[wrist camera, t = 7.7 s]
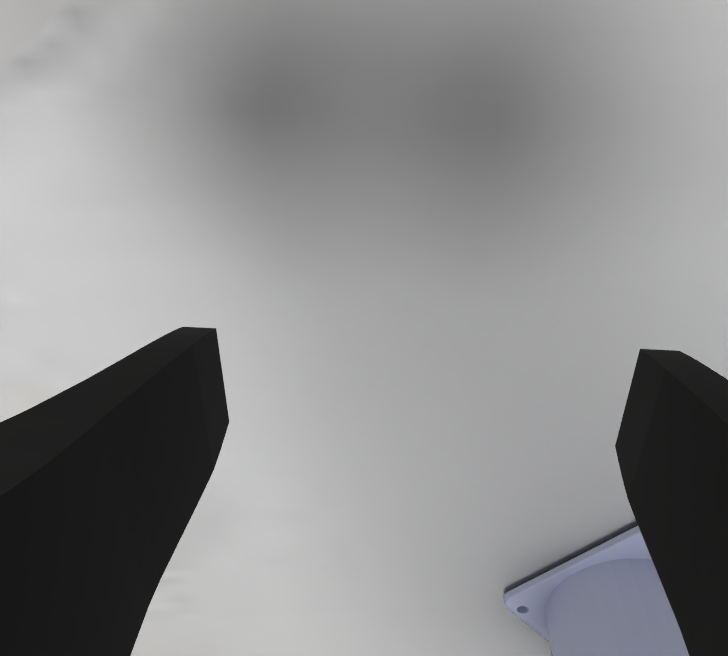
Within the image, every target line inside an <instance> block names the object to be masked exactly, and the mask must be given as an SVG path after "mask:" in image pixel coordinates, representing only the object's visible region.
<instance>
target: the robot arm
mask: <svg viewBox="0 0 728 656" xmlns="http://www.w3.org/2000/svg"><path fill="white" fill-rule="evenodd" d="M228 424H229V418H228V411H227V403H226V396H225V389H224V382H223V375H222V368H221V361H220V354H219V347H218V340H217V332H216V328H195V327H181V328H179V329H177V330H174V331H172V332H170V333H168V334H166V335H164V336H162V337H161V338H159V339H157V340H155V341H153V342H151V343H150V344H148V345H146V346H144V347H143V348H141V349H139V350H137V351H136V352H134V353H132V354H130V355H129V356H127V357H125V358H123V359H122V360H120V361H118V362H116V363H115V364H113V365H111V366H109V367H108V368H106V369H104V370H102V371H100V372H99V373H97V374H95V375H93V376H92V377H90V378H88V379H86V380H84V381H82V382H80V383H78V384H77V385H75V386H73V387H71V388H69V389H67V390H65V391H63V392H61V393H59V394H57V395H55V396H54V397H52V398H50V399H48V400H46V401H44V402H42V403H40V404H38V405H36V406H34V407H32V408H30V409H28V410H26V411H24V412H22V413H20V414H18V415H16V416H13V417H11V418H9V419H7V420H5V421H3V422H0V656H130V655H131V652H132V650H133V647H134V644H135V641H136V639H137V636H138V633H139V631H140V628H141V625H142V623H143V620H144V617H145V614H146V612H147V609H148V606H149V604H150V602H151V599H152V597H153V595H154V593H155V590H156V588H157V586H158V584H159V581H160V579H161V577H162V575H163V573H164V571H165V569H166V567H167V565H168V563H169V561H170V559H171V557H172V555H173V553H174V551H175V549H176V546H177V544H178V542H179V540H180V538H181V536H182V534H183V532H184V530H185V528H186V526H187V524H188V522H189V520H190V518H191V516H192V514H193V512H194V510H195V508H196V506H197V504H198V502H199V500H200V498H201V495H202V493H203V491H204V489H205V487H206V485H207V483H208V481H209V479H210V477H211V474H212V472H213V470H214V467H215V464H216V461H217V459H218V456H219V453H220V450H221V447H222V443H223V440H224V437H225V434H226V430H227V427H228ZM615 447H616V452H617V456H618V461H619V465H620V469H621V474H622V478H623V482H624V486H625V490H626V493H627V497H628V500H629V503H630V506H631V508H632V511H633V514H634V516H635V519H636V521H637V524H638V526H636V527H634V528H632V529H630V530H628V531H626V532H624V533H622V534H620V535H618V536H616V537H614V538H612V539H611V540H609V541H607V542H605V543H603V544H601V545H599V546H597V547H595V548H593V549H591V550H589V551H587V552H585V553H583V554H581V555H579V556H577V557H575V558H573V559H571V560H569V561H567V562H565V563H563V564H561V565H559V566H557V567H555V568H553V569H551V570H550V571H548V572H546V573H544V574H542V575H540V576H538V577H536V578H534V579H532V580H530V581H528V582H526V583H524V584H522V585H520V586H518V587H516V588H514V589H512V590H510V591H508V592H507V593H506V594H505V595H504V602H505V606H506V607H507V608H508V609H509V610H511V611H512V612H513V613H514V614H516V615H517V616H518V617H519V618H520V619H522V620H523V621H524V622H525V623H527V624H528V625H529V626H530V627H531V628H533V629H534V630H535V631H536V632H538V633H539V634H540V635H541V636H542V637H544V638H545V639H546V640H547V641H549V642H550V646H551V651H552V656H728V380H727V379H726V378H724V377H723V376H721V375H719V374H718V373H716V372H715V371H713V370H711V369H710V368H708V367H707V366H705V365H704V364H702V363H700V362H699V361H697V360H695V359H693V358H692V357H690V356H688V355H686V354H684V353H682V352H680V351H671V350H650V349H640V352H639V356H638V360H637V363H636V367H635V371H634V375H633V379H632V383H631V387H630V391H629V395H628V399H627V402H626V406H625V410H624V414H623V418H622V422H621V426H620V430H619V434H618V438H617V441H616V445H615Z"/></svg>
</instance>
